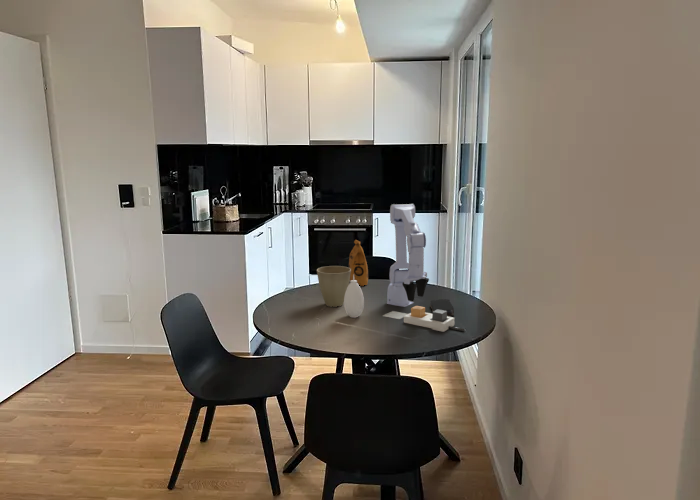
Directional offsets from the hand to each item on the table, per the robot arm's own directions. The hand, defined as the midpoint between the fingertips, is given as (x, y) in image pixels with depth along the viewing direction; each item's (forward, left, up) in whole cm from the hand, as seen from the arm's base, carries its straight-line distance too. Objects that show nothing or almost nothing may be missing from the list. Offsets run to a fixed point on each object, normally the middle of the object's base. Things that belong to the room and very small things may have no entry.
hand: (415, 298), depth 199 cm
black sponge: (+2, +18, -10) cm, 21 cm away
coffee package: (-55, +38, -10) cm, 68 cm away
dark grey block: (+10, 0, -10) cm, 14 cm away
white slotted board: (+9, 0, -9) cm, 13 cm away
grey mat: (-10, +2, -10) cm, 14 cm away
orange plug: (+1, 0, -10) cm, 10 cm away
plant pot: (-41, +1, -10) cm, 42 cm away
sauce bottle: (-23, -9, -10) cm, 27 cm away
